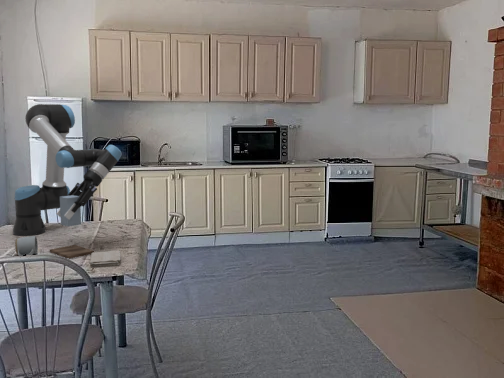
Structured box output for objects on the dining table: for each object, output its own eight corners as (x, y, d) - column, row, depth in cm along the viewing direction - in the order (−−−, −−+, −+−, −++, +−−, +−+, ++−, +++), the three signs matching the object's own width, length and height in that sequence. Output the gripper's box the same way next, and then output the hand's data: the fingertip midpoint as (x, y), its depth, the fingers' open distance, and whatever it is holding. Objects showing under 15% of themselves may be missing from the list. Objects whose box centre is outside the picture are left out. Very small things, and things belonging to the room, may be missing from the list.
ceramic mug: (17, 252, 225) (16, 235, 224) (38, 251, 228) (37, 233, 226) (14, 259, 215) (13, 241, 214) (35, 257, 218) (34, 239, 216)
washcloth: (89, 269, 203) (89, 261, 202) (90, 257, 220) (90, 250, 219) (121, 267, 206) (121, 259, 206) (119, 255, 223) (119, 248, 223)
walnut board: (49, 252, 226) (49, 249, 226) (74, 247, 235) (74, 244, 235) (68, 259, 215) (68, 256, 215) (94, 253, 224) (94, 250, 224)
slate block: (60, 224, 223) (59, 196, 221) (73, 222, 227) (72, 195, 226) (68, 226, 219) (66, 198, 217) (81, 224, 223) (79, 196, 222)
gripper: (113, 182, 226) (80, 224, 216) (89, 178, 239) (57, 219, 229) (102, 170, 221) (68, 214, 211) (78, 168, 234) (45, 208, 224)
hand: (62, 216), depth 220 cm, fingers closed on slate block, 6 cm apart
